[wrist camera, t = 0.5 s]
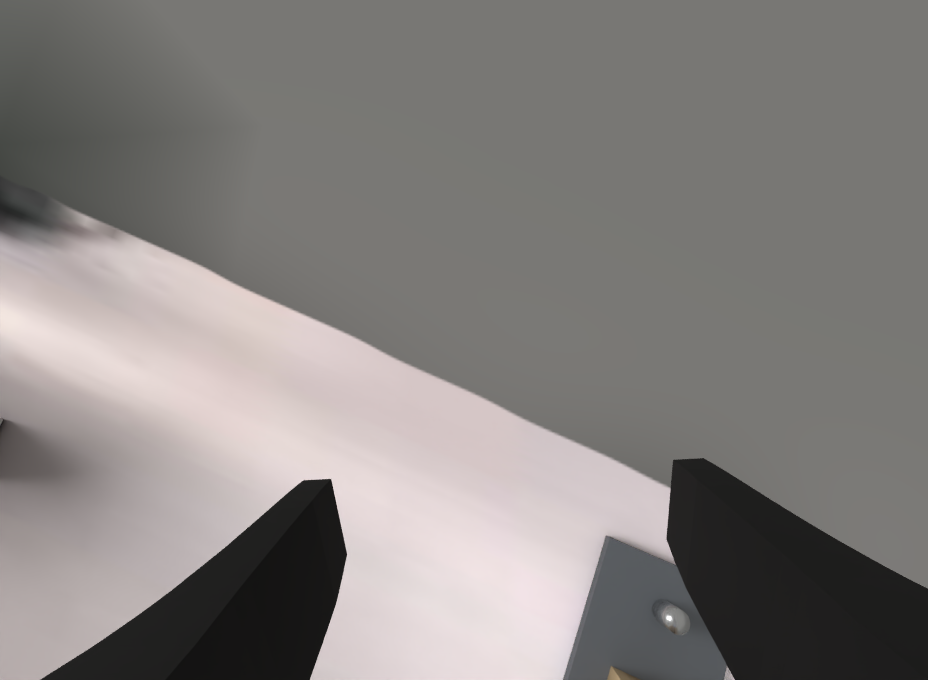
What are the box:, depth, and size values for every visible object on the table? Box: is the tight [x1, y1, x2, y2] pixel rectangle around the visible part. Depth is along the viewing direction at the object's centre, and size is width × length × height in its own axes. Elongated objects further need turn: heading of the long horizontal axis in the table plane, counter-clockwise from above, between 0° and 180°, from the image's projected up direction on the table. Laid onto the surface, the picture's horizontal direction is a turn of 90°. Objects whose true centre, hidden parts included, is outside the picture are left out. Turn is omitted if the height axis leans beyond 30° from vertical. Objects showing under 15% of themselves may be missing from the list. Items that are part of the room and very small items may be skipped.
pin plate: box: [563, 536, 727, 680], centre depth 30 cm, size 12×9×1 cm
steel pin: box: [652, 599, 690, 635], centre depth 29 cm, size 1×1×2 cm
